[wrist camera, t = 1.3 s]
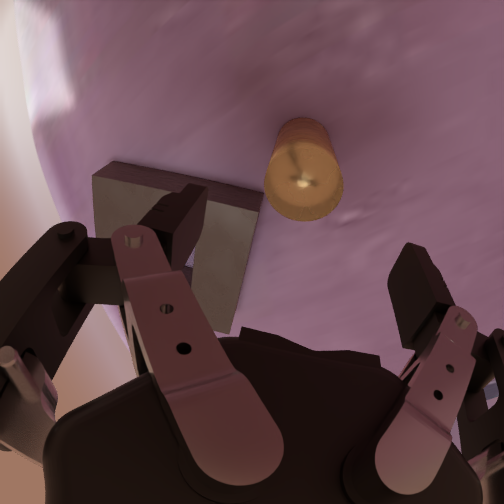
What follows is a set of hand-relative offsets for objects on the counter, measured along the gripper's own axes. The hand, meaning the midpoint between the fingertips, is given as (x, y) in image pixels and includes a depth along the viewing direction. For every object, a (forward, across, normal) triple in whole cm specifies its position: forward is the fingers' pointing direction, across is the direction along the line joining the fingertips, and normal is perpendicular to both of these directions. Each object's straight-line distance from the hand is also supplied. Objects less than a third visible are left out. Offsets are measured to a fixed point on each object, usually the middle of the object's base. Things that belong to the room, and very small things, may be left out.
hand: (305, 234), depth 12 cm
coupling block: (+14, +9, +12) cm, 20 cm away
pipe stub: (+14, 0, 0) cm, 14 cm away
